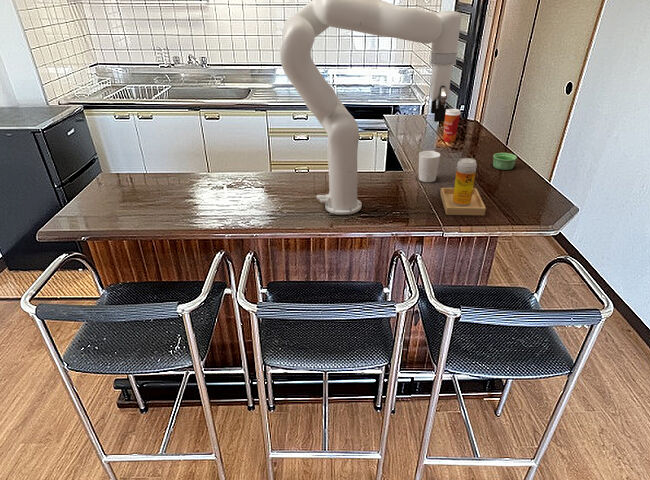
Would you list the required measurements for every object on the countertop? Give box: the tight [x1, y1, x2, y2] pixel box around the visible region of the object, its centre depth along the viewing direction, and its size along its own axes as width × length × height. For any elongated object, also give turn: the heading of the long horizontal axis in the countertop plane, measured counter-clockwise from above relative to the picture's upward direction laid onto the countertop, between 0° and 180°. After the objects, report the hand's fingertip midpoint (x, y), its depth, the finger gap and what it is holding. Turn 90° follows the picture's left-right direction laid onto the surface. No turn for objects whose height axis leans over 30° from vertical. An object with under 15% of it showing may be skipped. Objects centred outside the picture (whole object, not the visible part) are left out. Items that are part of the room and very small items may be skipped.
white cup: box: [418, 150, 441, 183], centre depth 167 cm, size 8×8×10 cm
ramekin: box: [492, 152, 518, 171], centre depth 178 cm, size 9×9×4 cm
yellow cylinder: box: [453, 157, 478, 206], centre depth 146 cm, size 6×6×15 cm
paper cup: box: [442, 108, 462, 143], centre depth 206 cm, size 8×8×14 cm
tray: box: [439, 187, 487, 216], centre depth 150 cm, size 12×16×3 cm
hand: (437, 117), depth 140 cm, fingers open, 9 cm apart
